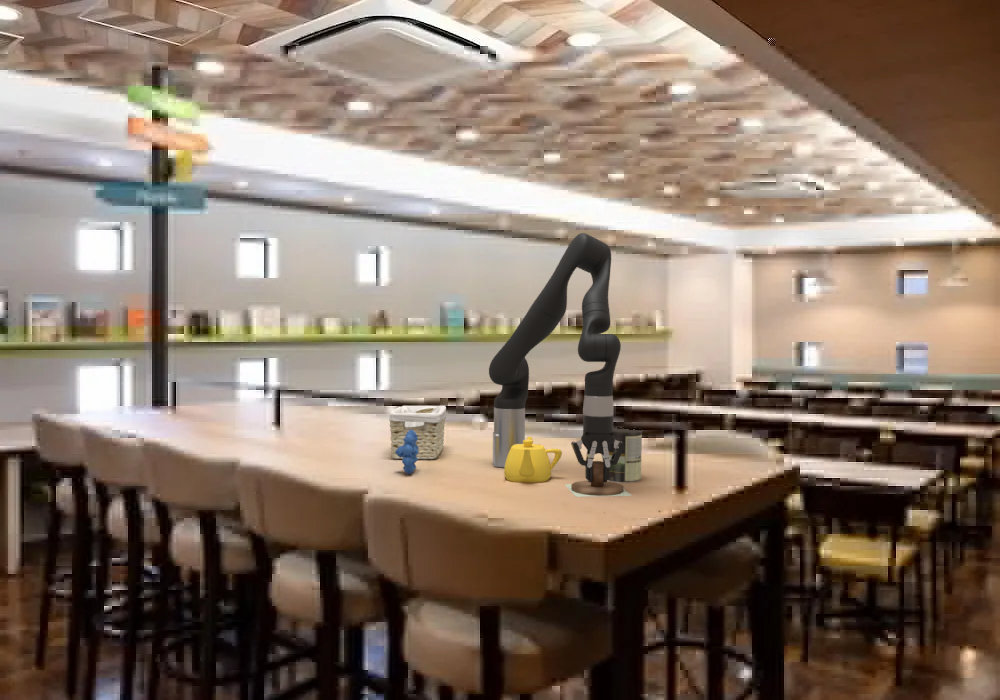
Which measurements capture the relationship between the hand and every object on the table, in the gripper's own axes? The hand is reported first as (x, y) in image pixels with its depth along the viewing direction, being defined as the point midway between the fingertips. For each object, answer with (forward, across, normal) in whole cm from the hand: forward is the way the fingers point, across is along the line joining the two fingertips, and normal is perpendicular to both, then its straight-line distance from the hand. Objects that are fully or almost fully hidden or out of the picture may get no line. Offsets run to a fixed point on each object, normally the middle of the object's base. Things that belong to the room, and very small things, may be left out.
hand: (597, 481), depth 191 cm
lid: (+2, 0, 0) cm, 2 cm away
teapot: (+3, -14, +16) cm, 21 cm away
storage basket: (+3, -45, +58) cm, 74 cm away
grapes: (+3, -48, +28) cm, 56 cm away
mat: (+3, 0, 0) cm, 3 cm away
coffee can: (+3, +10, +13) cm, 17 cm away
